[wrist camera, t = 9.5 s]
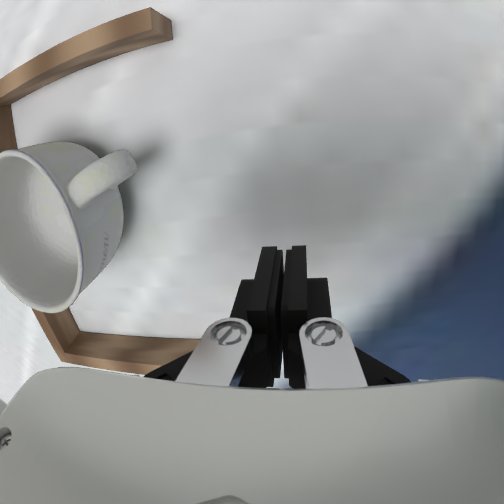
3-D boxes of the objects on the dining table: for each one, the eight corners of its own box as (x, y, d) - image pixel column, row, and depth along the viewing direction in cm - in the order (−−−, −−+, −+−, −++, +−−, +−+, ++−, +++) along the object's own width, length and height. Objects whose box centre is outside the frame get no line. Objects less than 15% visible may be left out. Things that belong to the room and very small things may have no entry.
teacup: (65, 266, 25) (14, 317, 18) (22, 158, 20) (-45, 188, 13) (197, 236, 22) (160, 302, 15) (152, 90, 18) (82, 91, 10)
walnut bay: (171, 20, 15) (150, 7, 12) (225, 351, 27) (218, 380, 24) (-1, 94, 17) (-28, 99, 14) (75, 340, 29) (61, 361, 26)
